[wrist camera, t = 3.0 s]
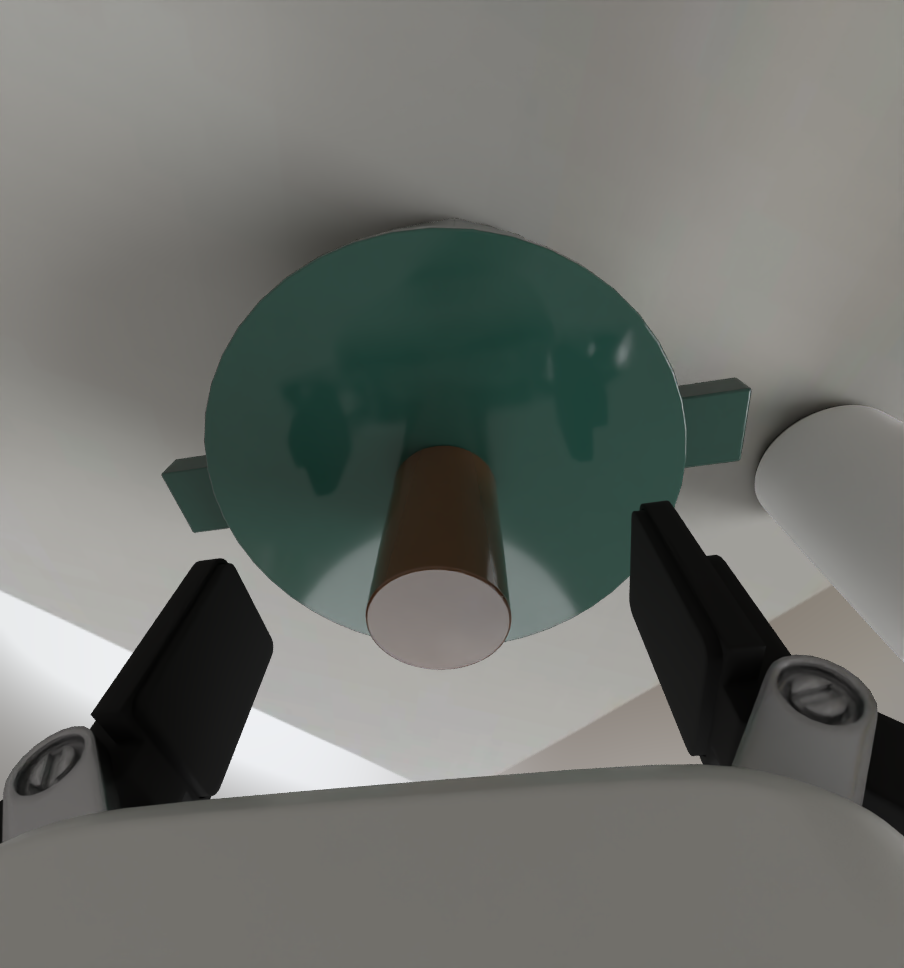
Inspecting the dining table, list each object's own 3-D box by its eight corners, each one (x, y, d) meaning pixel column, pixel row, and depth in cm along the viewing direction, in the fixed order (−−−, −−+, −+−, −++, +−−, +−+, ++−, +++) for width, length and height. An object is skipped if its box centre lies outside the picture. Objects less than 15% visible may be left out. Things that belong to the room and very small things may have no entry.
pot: (200, 264, 20) (50, 316, 12) (666, 176, 18) (805, 178, 11) (302, 518, 26) (242, 649, 19) (651, 472, 24) (730, 597, 17)
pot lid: (134, 276, 13) (-101, 350, 7) (691, 171, 11) (895, 170, 6) (305, 639, 20) (249, 810, 14) (659, 602, 18) (739, 775, 13)
